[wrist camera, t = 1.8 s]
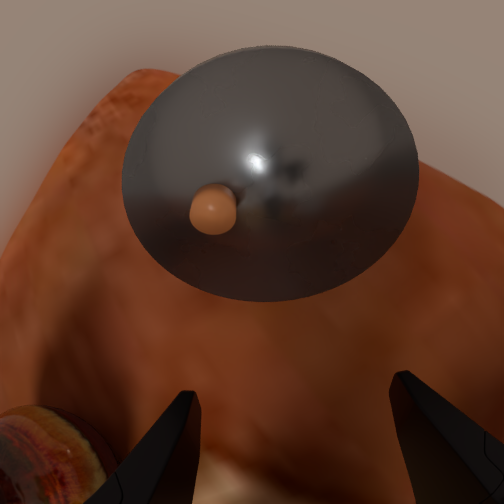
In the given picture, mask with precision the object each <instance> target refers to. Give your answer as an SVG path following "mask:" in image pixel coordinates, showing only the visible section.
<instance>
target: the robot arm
mask: <svg viewBox="0 0 504 504" xmlns="http://www.w3.org/2000/svg"><path fill="white" fill-rule="evenodd" d="M389 398H390V402H391V407H392V412H393V417H394V422H395V427H396V432H397V437H398V440H399V444H400V447H401V450H402V454H403V457H404V460H405V464H406V467H407V470H408V474H409V477H410V481H411V485H412V488H413V492H414V496H415V499H416V503H417V504H504V444H503V443H501V442H500V441H499V440H497V439H496V438H495V437H493V436H492V435H491V434H489V433H488V432H487V431H484V429H483V428H482V427H480V426H479V425H478V424H477V423H475V422H474V421H473V420H471V419H470V418H469V417H468V416H466V415H465V414H464V413H462V412H461V411H460V410H459V409H457V408H456V407H455V406H453V405H452V404H451V403H450V402H448V401H447V400H446V399H444V398H443V397H442V396H441V395H439V394H438V393H437V392H435V391H434V390H433V389H432V388H430V387H429V386H428V385H426V384H425V383H424V382H423V381H421V380H420V379H419V378H417V377H416V376H415V375H414V374H412V373H411V372H410V371H408V370H405V371H400V372H396V373H395V374H394V377H393V380H392V383H391V386H390V389H389ZM200 435H201V406H200V403H199V400H198V397H197V394H196V392H195V391H188V390H183V391H181V392H180V393H179V394H178V395H177V396H176V398H175V399H174V400H173V401H172V403H171V404H170V405H169V406H168V408H167V409H166V410H165V411H164V412H163V414H162V415H161V416H160V417H159V419H158V420H157V421H156V422H155V423H154V425H153V426H152V427H151V428H150V429H149V431H148V432H147V433H146V434H145V435H144V437H143V438H142V439H141V440H140V441H139V443H138V444H137V445H136V446H135V447H134V449H133V450H132V451H131V452H130V453H129V455H128V456H127V457H126V458H125V459H124V460H123V462H122V463H121V464H120V465H119V466H118V467H117V469H116V470H115V471H116V472H113V473H112V474H111V475H110V477H109V478H108V479H107V480H106V481H105V482H104V483H103V484H102V485H101V486H100V488H99V489H98V490H97V491H96V492H95V493H94V494H92V495H91V496H90V497H89V498H88V499H87V500H86V501H85V502H84V503H82V504H192V501H193V494H194V488H195V482H196V476H197V470H198V464H199V457H200Z"/></svg>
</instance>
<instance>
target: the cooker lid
mask: <svg viewBox="0 0 504 504" xmlns="http://www.w3.org/2000/svg"><path fill="white" fill-rule="evenodd" d="M418 183H419V163H418V153H417V150H416V146H415V142H414V138H413V135H412V133H411V131H410V128H409V126H408V124H407V121H406V119H405V118H404V116H403V115H402V113H401V112H400V110H399V109H398V107H397V106H396V104H395V103H394V102H393V101H392V99H391V98H390V97H389V96H388V95H387V94H386V93H385V92H384V91H383V90H382V89H381V88H380V87H379V86H378V85H377V84H375V83H374V82H373V81H371V80H370V79H369V78H368V77H366V76H365V75H364V74H362V73H361V72H359V71H357V70H355V69H354V68H352V67H350V66H348V65H346V64H344V63H343V62H341V61H339V60H337V59H335V58H333V57H330V56H327V55H324V54H321V53H319V52H316V51H312V50H308V49H303V48H297V47H291V46H257V47H249V48H242V49H238V50H234V51H231V52H227V53H224V54H220V55H218V56H216V57H213V58H211V59H209V60H207V61H204V62H202V63H200V64H198V65H196V66H195V67H193V68H192V69H190V70H189V71H187V72H186V73H184V74H183V75H181V76H180V77H178V78H177V79H176V80H175V81H174V82H173V83H172V84H171V85H169V86H168V87H167V88H166V89H165V90H164V91H163V92H162V93H161V94H160V95H159V96H158V97H157V98H156V99H155V101H154V102H153V103H152V104H151V106H150V107H149V108H148V109H147V111H146V112H145V113H144V115H143V116H142V117H141V119H140V121H139V123H138V125H137V126H136V128H135V130H134V132H133V134H132V136H131V139H130V141H129V144H128V147H127V150H126V153H125V158H124V164H123V169H122V193H123V200H124V206H125V209H126V213H127V216H128V219H129V222H130V224H131V226H132V228H133V230H134V232H135V234H136V236H137V238H138V239H139V241H140V242H141V244H142V245H143V247H144V248H145V249H146V250H147V251H148V253H149V254H150V255H151V256H152V257H153V258H154V259H155V260H156V261H157V262H158V263H159V264H160V265H161V266H162V267H163V268H165V269H166V270H167V271H169V272H170V273H171V274H173V275H174V276H176V277H177V278H179V279H180V280H182V281H184V282H186V283H188V284H189V285H191V286H194V287H196V288H198V289H200V290H203V291H205V292H208V293H211V294H215V295H218V296H222V297H226V298H230V299H236V300H243V301H254V302H277V301H286V300H294V299H299V298H304V297H309V296H312V295H315V294H319V293H322V292H325V291H327V290H330V289H333V288H335V287H337V286H339V285H341V284H343V283H345V282H347V281H350V280H351V279H353V278H354V277H356V276H358V275H359V274H361V273H362V272H364V271H365V270H366V269H368V268H369V267H370V266H372V265H373V264H374V263H375V262H376V261H378V260H379V259H380V258H381V257H382V256H383V255H384V254H385V253H386V252H387V251H388V249H389V248H390V247H391V246H392V245H393V244H394V242H395V241H396V240H397V238H398V237H399V235H400V234H401V232H402V231H403V229H404V227H405V225H406V223H407V221H408V219H409V217H410V215H411V212H412V209H413V206H414V204H415V200H416V195H417V190H418Z"/></svg>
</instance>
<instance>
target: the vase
mask: <svg viewBox="0 0 504 504" xmlns="http://www.w3.org/2000/svg"><path fill="white" fill-rule="evenodd" d="M117 467H118V465H117V462H116V459H115V457H114V454H113V453H112V451H111V449H110V447H109V446H108V444H107V443H106V442H105V440H104V439H103V438H102V437H101V435H100V434H99V433H98V432H97V431H96V430H95V429H94V428H93V427H92V426H90V425H89V424H88V423H86V422H85V421H84V420H82V419H80V418H79V417H77V416H75V415H73V414H71V413H69V412H66V411H64V410H61V409H58V408H54V407H49V406H44V405H24V406H19V407H14V408H12V409H9V410H7V411H5V412H3V413H2V414H0V504H82V503H84V502H85V501H86V500H87V499H88V498H89V497H90V496H91V495H92V494H94V493H95V492H96V491H97V490H98V489H99V488H100V486H101V485H102V484H103V483H104V482H105V481H106V480H107V479H108V478H109V477H110V475H111V474H112V473H113V472H116V471H115V470H116V469H117Z"/></svg>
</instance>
